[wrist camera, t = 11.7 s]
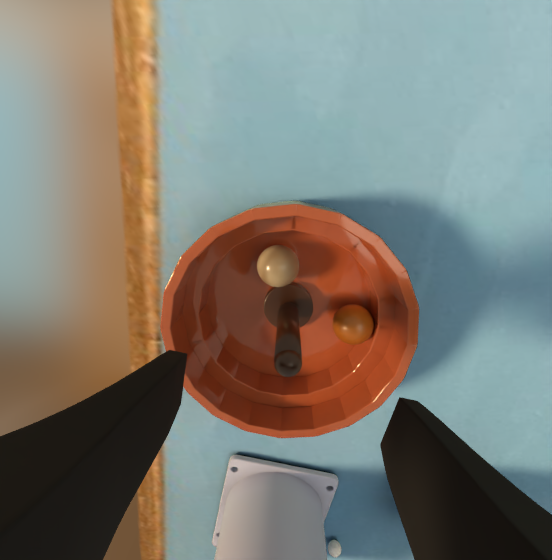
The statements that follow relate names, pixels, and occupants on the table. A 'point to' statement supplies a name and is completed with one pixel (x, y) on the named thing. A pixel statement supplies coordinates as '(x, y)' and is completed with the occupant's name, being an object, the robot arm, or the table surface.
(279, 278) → the cream bead
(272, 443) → the table surface
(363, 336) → the amber bead
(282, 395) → the bowl
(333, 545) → the sphere
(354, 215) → the table surface
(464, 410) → the table surface
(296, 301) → the brown peg
